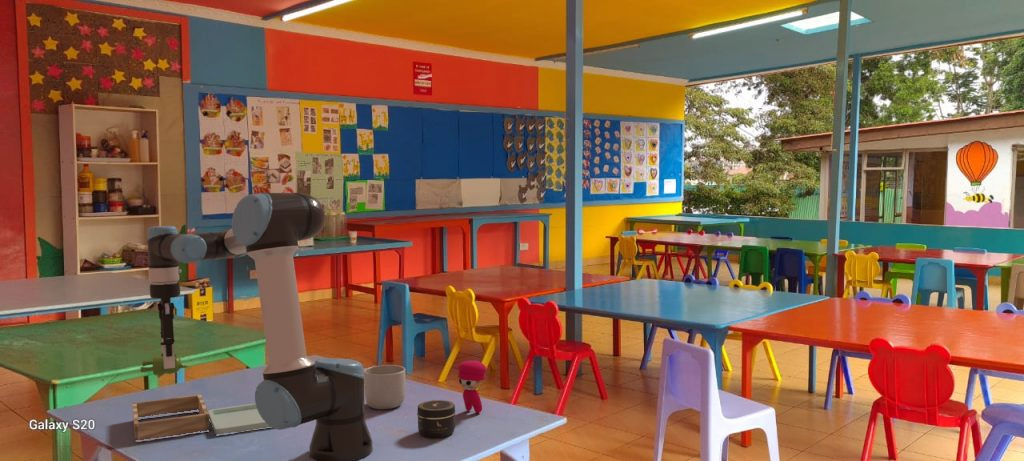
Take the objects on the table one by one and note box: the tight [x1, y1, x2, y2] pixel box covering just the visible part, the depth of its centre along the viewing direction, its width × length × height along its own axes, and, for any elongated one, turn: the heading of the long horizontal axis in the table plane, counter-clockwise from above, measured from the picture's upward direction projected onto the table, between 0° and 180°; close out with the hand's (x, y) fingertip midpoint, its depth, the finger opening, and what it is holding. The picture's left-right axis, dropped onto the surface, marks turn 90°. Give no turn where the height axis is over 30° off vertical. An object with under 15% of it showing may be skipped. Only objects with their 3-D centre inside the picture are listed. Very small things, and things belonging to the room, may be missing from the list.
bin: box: [132, 393, 211, 441], centre depth 209 cm, size 22×18×5 cm
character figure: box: [140, 352, 189, 379], centre depth 207 cm, size 12×5×12 cm
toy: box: [457, 359, 488, 414], centre depth 218 cm, size 8×8×15 cm
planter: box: [363, 364, 406, 410], centre depth 226 cm, size 12×12×11 cm
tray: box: [207, 403, 270, 435], centre depth 213 cm, size 20×20×2 cm
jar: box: [416, 399, 456, 439], centre depth 200 cm, size 10×10×8 cm
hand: (168, 364), depth 208 cm, fingers closed on character figure, 8 cm apart
